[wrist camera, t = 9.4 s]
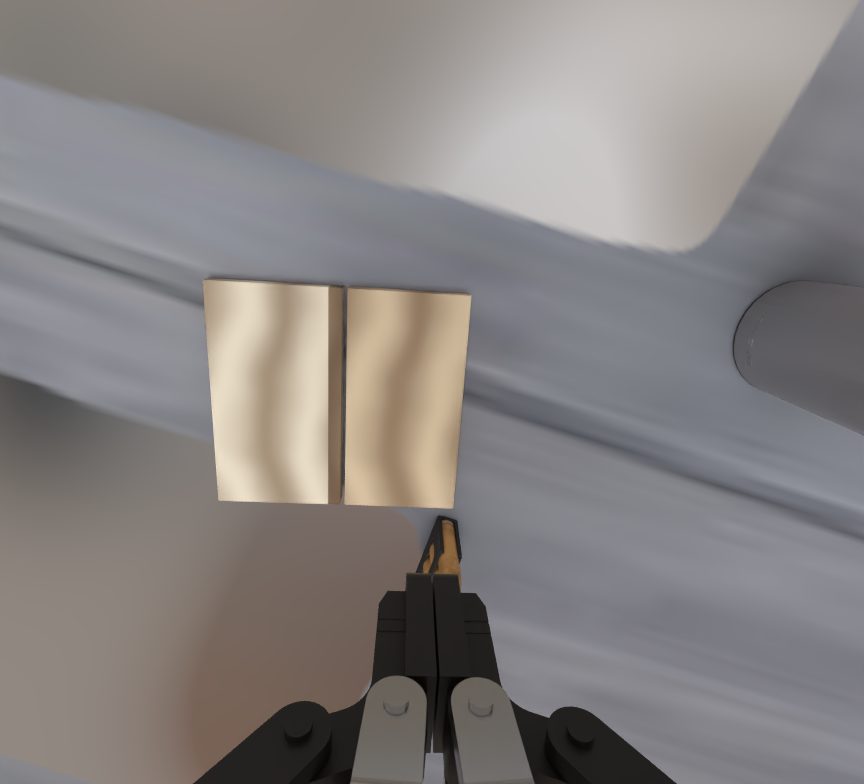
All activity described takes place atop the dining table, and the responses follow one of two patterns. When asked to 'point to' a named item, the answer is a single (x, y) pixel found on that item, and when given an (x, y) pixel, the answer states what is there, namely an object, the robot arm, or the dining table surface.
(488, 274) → the dining table surface
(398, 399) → the oak board
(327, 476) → the birch plank
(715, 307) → the dining table surface
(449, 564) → the ammunition clip
